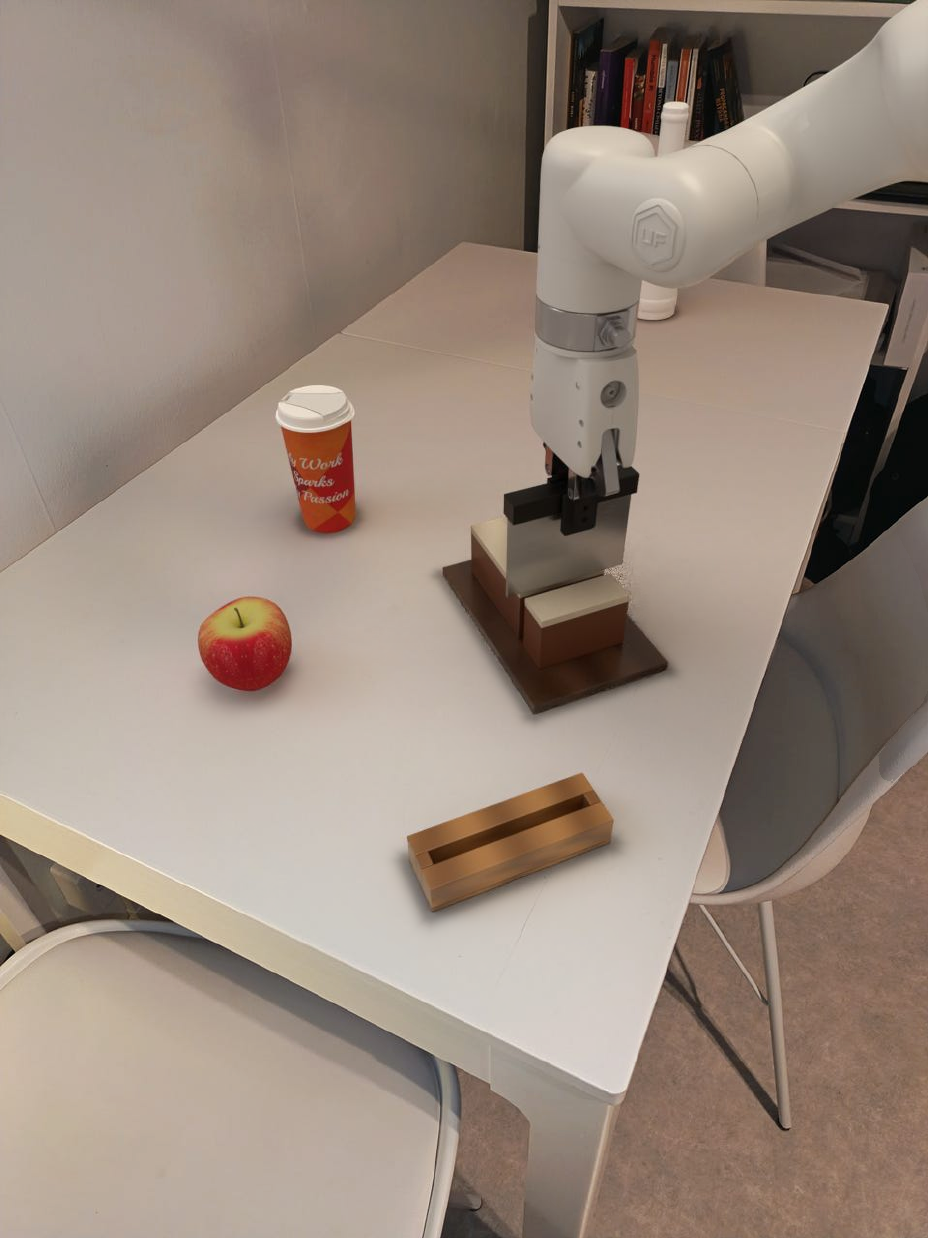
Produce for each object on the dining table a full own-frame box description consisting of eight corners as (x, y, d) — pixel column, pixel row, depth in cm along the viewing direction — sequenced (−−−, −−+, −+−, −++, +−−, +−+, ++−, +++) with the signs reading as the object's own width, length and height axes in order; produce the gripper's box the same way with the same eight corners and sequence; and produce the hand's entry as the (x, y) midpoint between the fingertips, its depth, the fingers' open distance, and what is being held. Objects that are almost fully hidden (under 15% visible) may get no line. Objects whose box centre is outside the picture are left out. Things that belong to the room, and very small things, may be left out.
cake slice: (605, 620, 87) (610, 572, 83) (623, 642, 85) (630, 594, 81) (522, 646, 85) (524, 598, 81) (539, 669, 82) (541, 621, 78)
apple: (210, 717, 80) (185, 635, 73) (208, 653, 86) (185, 573, 79) (302, 700, 81) (285, 618, 74) (293, 639, 87) (277, 559, 81)
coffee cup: (282, 532, 101) (259, 414, 91) (312, 493, 107) (294, 378, 97) (350, 544, 99) (335, 424, 89) (376, 504, 105) (365, 387, 95)
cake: (558, 542, 99) (562, 488, 94) (667, 669, 83) (677, 613, 79) (442, 574, 95) (440, 520, 90) (533, 714, 79) (536, 658, 75)
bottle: (679, 305, 147) (709, 99, 127) (669, 323, 141) (699, 112, 121) (632, 298, 149) (654, 96, 129) (620, 316, 144) (641, 108, 124)
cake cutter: (616, 557, 84) (627, 462, 77) (626, 569, 83) (639, 473, 76) (501, 590, 81) (503, 493, 74) (511, 603, 80) (513, 506, 73)
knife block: (579, 795, 73) (582, 772, 71) (610, 842, 69) (614, 819, 67) (408, 858, 68) (406, 835, 66) (432, 912, 65) (430, 890, 63)
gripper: (689, 351, 61) (655, 562, 73) (579, 273, 72) (565, 468, 84) (594, 372, 59) (575, 585, 71) (495, 289, 70) (493, 486, 82)
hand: (570, 520), depth 78 cm, fingers closed on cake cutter, 2 cm apart
